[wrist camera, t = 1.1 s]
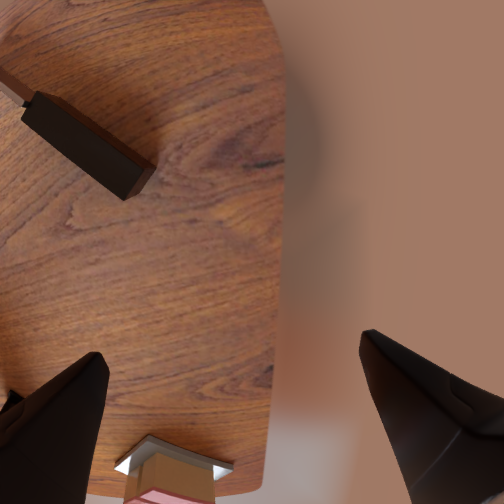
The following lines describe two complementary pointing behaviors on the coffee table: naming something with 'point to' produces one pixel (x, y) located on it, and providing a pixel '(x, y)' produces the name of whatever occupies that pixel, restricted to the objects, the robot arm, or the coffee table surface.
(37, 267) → the coffee table surface
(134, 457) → the cake plate
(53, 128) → the knife
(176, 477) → the cake slice
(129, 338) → the coffee table surface
